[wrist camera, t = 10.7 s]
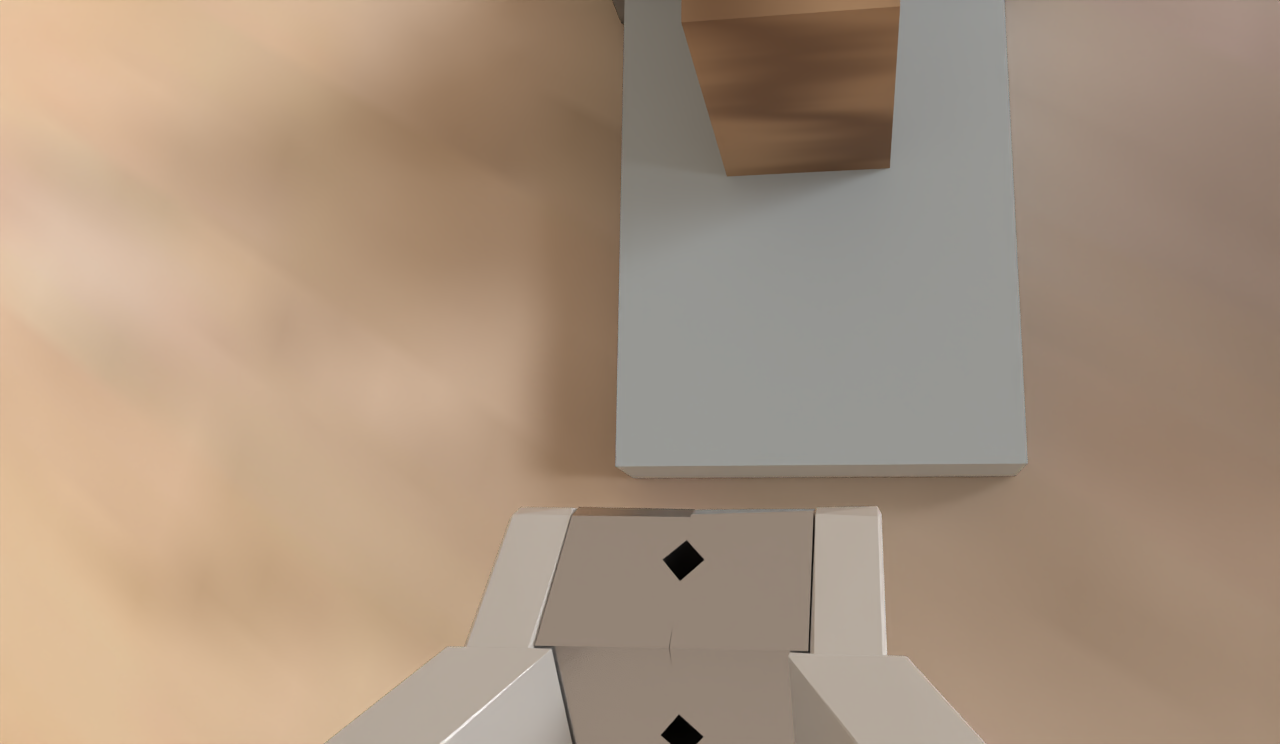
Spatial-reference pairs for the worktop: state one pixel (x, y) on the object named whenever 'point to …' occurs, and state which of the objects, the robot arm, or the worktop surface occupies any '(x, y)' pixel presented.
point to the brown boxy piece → (796, 81)
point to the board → (822, 276)
